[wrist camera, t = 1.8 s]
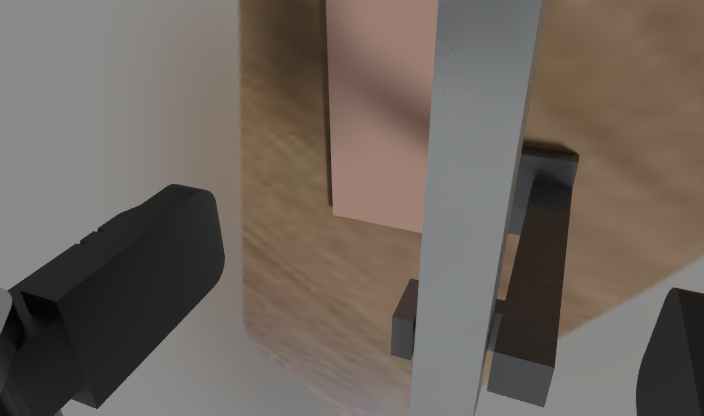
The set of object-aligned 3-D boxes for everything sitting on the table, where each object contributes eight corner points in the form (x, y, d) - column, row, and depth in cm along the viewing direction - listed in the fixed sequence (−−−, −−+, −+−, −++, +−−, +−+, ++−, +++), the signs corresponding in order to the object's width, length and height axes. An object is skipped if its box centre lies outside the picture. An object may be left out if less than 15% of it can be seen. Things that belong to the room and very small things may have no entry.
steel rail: (500, -484, 11) (477, -562, 9) (634, -513, 10) (642, -608, 8) (425, 368, 23) (409, 412, 21) (481, 384, 22) (470, 432, 20)
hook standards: (511, -292, 21) (405, -483, 10) (687, -311, 19) (807, -578, 8) (456, 213, 33) (382, 386, 22) (560, 233, 31) (536, 434, 20)
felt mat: (320, -319, 22) (314, -323, 22) (490, -343, 20) (487, -348, 20) (336, 210, 36) (333, 214, 36) (439, 231, 34) (436, 236, 33)
